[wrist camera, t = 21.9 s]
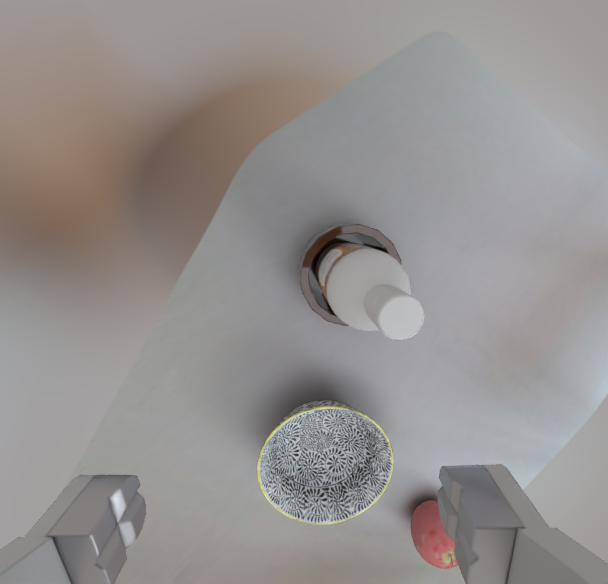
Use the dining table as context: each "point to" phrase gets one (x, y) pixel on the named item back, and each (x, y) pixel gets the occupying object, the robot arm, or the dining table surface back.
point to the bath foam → (369, 290)
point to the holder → (319, 244)
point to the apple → (432, 536)
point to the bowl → (325, 463)
